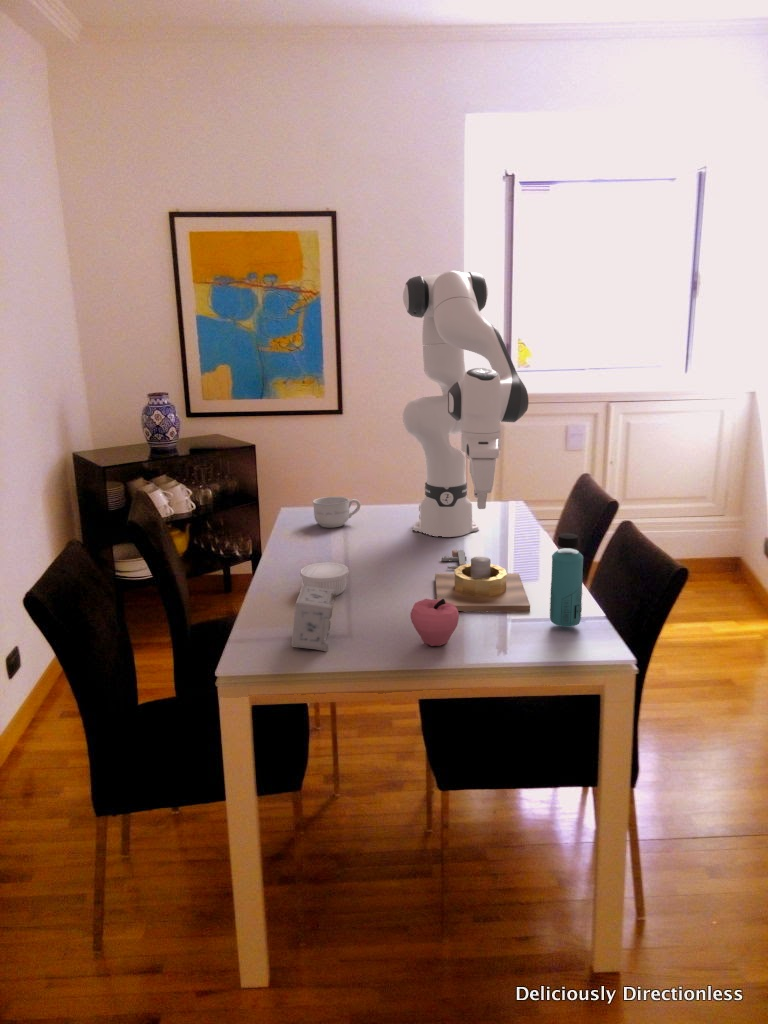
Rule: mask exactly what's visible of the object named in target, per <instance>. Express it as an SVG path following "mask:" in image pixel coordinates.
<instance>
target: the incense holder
mask: <svg viewBox="0 0 768 1024" xmlns="http://www.w3.org/2000/svg"><path fill="white" fill-rule="evenodd" d="M336 598H337V596H336V590H333V589H326V588H317V587H311V586H304V585H302V586H301V588H300V591H299V594H298V596H297V599H296V602H295V605H294V613H293V614H294V616H293V625H292V635H291V641H290V642H291V647H293V648H300V649H301V648H302V649H310V650H316V651H317V650H318V651H322V652H328V651H329V643H328V642H327V637H328V635H329V634H330V633H329V631H330V629H331V618H332V617H333V616H332V615H333V605H332V603H333V602H334V601H336Z"/></svg>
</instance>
